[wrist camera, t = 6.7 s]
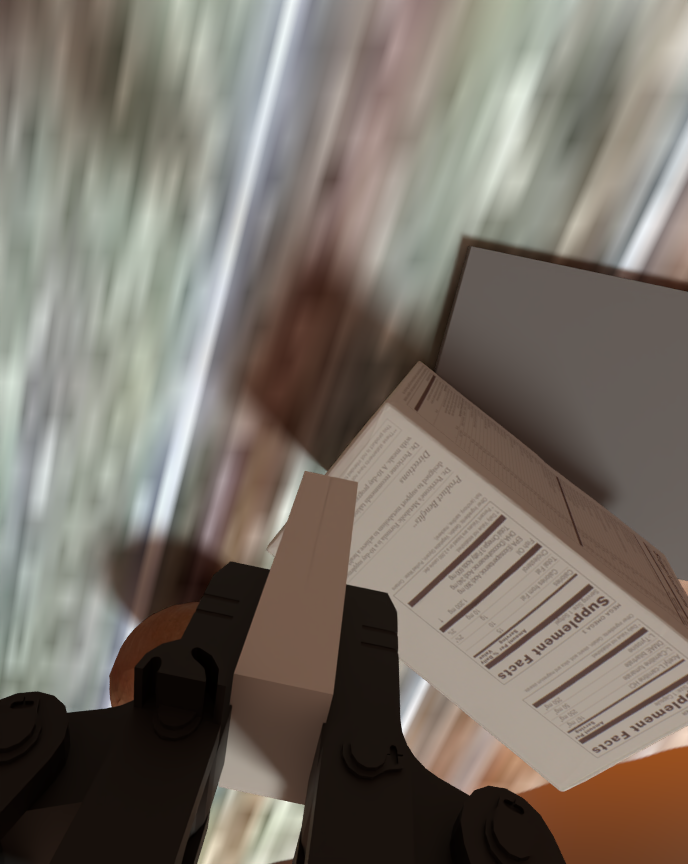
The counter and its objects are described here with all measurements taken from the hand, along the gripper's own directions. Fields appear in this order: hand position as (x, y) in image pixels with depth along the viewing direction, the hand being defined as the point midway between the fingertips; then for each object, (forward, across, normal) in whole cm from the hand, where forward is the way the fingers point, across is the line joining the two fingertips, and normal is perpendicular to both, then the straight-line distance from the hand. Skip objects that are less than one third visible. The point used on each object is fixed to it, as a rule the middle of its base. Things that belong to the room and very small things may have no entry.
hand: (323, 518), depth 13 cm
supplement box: (+10, 0, +2) cm, 10 cm away
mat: (+15, -14, 0) cm, 20 cm away
